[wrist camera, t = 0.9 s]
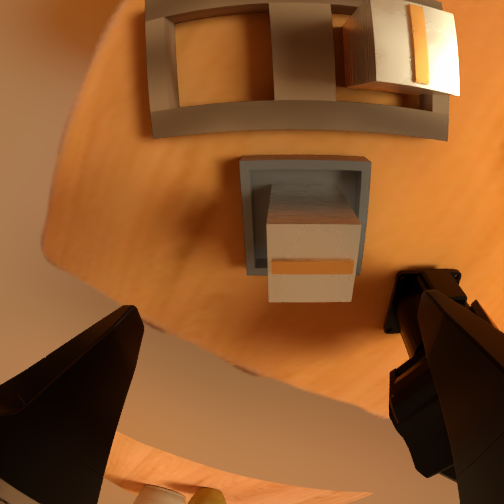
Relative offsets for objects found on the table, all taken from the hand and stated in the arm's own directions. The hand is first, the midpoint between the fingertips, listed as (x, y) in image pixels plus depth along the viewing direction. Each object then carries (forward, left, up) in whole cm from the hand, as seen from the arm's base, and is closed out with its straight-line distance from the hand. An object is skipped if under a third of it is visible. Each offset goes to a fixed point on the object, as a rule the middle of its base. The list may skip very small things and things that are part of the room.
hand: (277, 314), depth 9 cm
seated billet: (+9, -7, -13) cm, 18 cm away
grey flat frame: (+9, -2, -13) cm, 16 cm away
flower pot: (-70, +15, -14) cm, 73 cm away
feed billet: (-2, -2, -13) cm, 13 cm away
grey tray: (-2, -2, -13) cm, 14 cm away
